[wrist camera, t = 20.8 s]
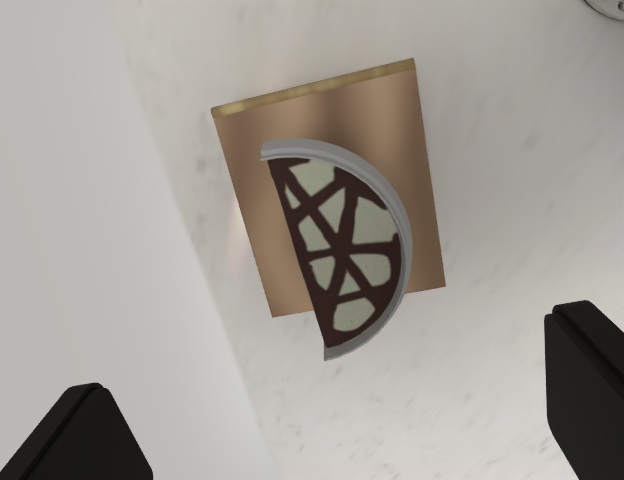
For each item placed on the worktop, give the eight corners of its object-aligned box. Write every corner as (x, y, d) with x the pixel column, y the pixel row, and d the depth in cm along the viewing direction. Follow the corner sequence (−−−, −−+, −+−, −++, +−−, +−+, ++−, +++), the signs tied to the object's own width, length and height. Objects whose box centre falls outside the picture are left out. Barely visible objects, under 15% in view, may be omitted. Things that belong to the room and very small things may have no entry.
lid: (411, 58, 27) (414, 57, 27) (443, 282, 33) (446, 287, 32) (213, 107, 29) (209, 108, 28) (273, 313, 34) (272, 318, 33)
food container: (409, 269, 32) (440, 346, 22) (329, 287, 32) (326, 369, 23) (371, 102, 28) (390, 109, 18) (282, 128, 29) (255, 147, 19)
